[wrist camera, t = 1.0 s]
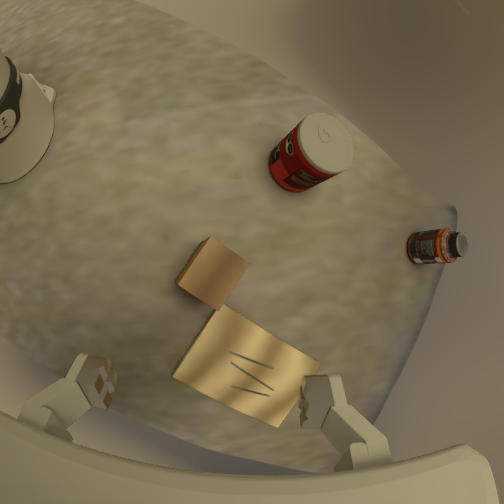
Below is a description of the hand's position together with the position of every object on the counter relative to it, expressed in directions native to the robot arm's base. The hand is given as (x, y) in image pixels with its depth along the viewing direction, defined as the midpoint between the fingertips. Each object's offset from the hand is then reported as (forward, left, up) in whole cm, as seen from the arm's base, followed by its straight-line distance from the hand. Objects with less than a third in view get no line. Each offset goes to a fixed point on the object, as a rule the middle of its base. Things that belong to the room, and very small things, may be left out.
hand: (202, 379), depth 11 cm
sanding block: (+1, +5, -28) cm, 28 cm away
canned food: (+3, +25, -28) cm, 38 cm away
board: (+14, -3, -28) cm, 31 cm away
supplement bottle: (+31, +30, -28) cm, 52 cm away
